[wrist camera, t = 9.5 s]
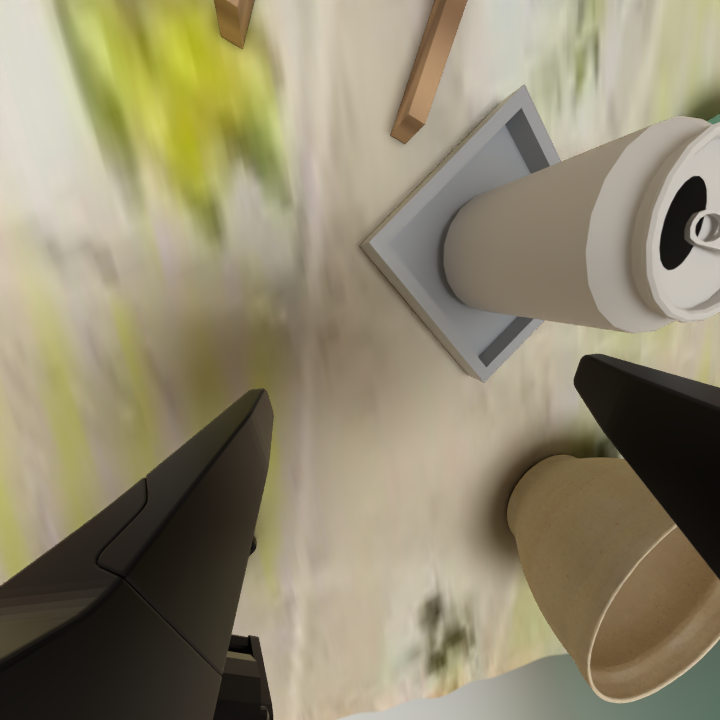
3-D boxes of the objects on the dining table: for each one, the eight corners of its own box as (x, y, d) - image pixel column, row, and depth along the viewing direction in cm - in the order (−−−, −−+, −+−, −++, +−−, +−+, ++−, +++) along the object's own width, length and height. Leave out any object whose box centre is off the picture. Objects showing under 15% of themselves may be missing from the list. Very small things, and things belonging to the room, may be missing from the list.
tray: (467, 374, 24) (484, 382, 22) (359, 245, 19) (369, 242, 17) (579, 258, 24) (606, 257, 22) (499, 102, 19) (524, 84, 17)
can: (447, 182, 19) (696, 46, 8) (541, 206, 21) (842, 125, 10) (427, 304, 21) (610, 333, 10) (516, 314, 23) (750, 348, 12)
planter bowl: (587, 550, 34) (721, 665, 24) (461, 578, 29) (561, 735, 19) (629, 416, 30) (809, 485, 20) (491, 424, 26) (635, 519, 16)
